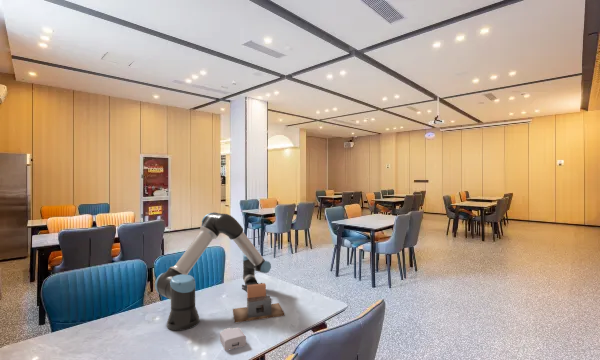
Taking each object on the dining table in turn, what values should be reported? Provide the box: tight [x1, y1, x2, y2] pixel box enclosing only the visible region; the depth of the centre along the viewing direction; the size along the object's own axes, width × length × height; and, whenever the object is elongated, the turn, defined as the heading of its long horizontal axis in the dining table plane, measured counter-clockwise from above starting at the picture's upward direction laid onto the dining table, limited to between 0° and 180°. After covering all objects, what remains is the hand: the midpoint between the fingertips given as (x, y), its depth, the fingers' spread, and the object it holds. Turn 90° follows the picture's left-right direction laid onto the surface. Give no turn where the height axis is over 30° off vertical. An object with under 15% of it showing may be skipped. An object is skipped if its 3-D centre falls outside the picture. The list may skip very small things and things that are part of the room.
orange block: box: [246, 282, 267, 308], centre depth 169 cm, size 10×9×12 cm
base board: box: [232, 302, 285, 324], centre depth 166 cm, size 26×14×2 cm, turn 106°
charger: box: [219, 327, 247, 351], centre depth 139 cm, size 5×9×15 cm
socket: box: [246, 295, 272, 318], centre depth 163 cm, size 12×6×8 cm, turn 106°
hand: (255, 295), depth 175 cm, fingers closed
